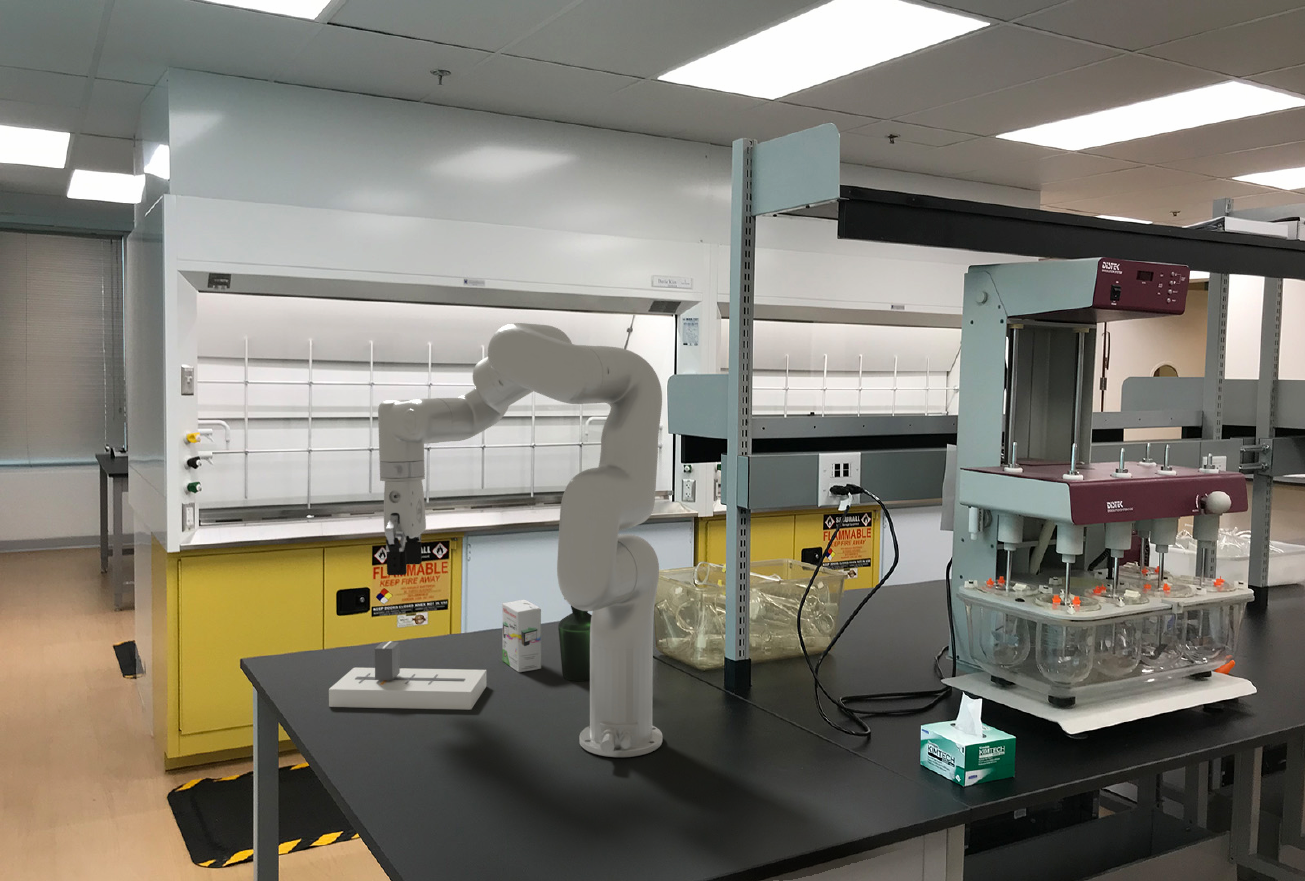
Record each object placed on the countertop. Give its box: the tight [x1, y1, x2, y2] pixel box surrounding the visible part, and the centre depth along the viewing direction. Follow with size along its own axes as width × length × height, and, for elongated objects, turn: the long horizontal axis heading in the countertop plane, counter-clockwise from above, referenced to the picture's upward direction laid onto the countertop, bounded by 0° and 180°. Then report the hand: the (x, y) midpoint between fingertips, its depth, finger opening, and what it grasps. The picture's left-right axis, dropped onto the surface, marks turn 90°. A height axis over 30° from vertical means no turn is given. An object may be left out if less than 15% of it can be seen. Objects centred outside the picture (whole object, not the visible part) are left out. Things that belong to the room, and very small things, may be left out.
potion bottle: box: [557, 597, 592, 682], centre depth 176 cm, size 8×8×18 cm
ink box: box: [501, 599, 542, 673], centre depth 183 cm, size 8×5×12 cm, turn 30°
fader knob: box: [374, 640, 401, 680], centre depth 165 cm, size 4×3×6 cm
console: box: [328, 667, 487, 710], centre depth 165 cm, size 12×24×3 cm, turn 88°
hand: (404, 569), depth 166 cm, fingers open, 9 cm apart
